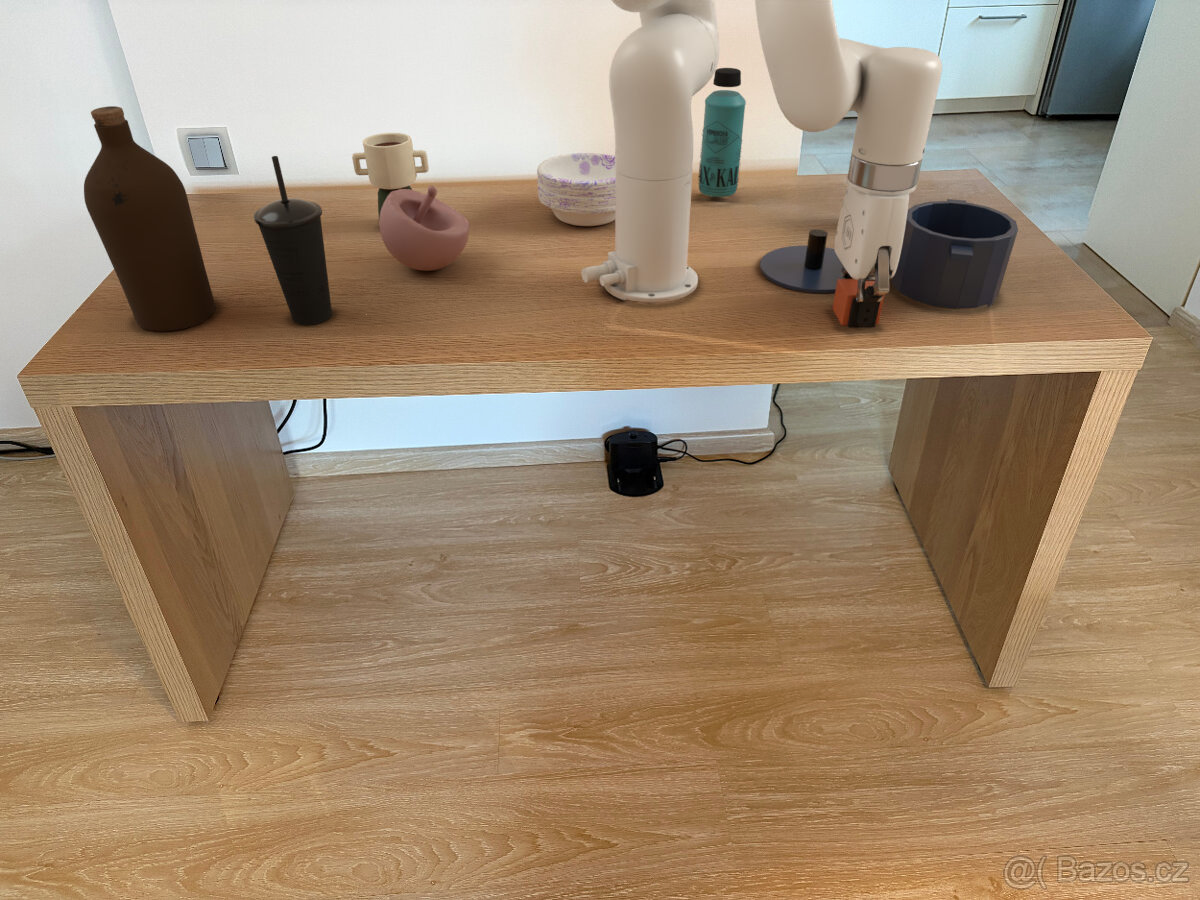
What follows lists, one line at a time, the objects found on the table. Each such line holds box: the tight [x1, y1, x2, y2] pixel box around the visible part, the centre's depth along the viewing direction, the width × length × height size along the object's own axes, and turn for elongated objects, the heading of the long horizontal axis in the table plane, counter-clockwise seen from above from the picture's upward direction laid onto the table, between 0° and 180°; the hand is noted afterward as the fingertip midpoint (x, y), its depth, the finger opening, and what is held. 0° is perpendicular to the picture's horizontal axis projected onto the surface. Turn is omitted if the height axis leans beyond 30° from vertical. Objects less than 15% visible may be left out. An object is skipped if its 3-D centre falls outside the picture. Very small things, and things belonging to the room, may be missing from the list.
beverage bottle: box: [697, 67, 747, 198], centre depth 132 cm, size 6×7×20 cm
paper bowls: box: [536, 152, 615, 227], centre depth 130 cm, size 15×15×8 cm
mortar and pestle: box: [378, 185, 470, 272], centre depth 115 cm, size 12×12×11 cm
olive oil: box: [83, 105, 216, 332], centre depth 100 cm, size 11×11×25 cm
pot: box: [891, 198, 1019, 310], centre depth 108 cm, size 13×19×10 cm
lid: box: [759, 228, 845, 294], centre depth 113 cm, size 14×14×6 cm
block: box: [832, 279, 886, 326], centre depth 103 cm, size 4×4×4 cm
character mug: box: [351, 132, 430, 219], centre depth 127 cm, size 11×7×13 cm, turn 96°
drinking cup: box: [253, 155, 333, 326], centre depth 100 cm, size 8×8×20 cm
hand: (854, 317), depth 104 cm, fingers closed on block, 4 cm apart
